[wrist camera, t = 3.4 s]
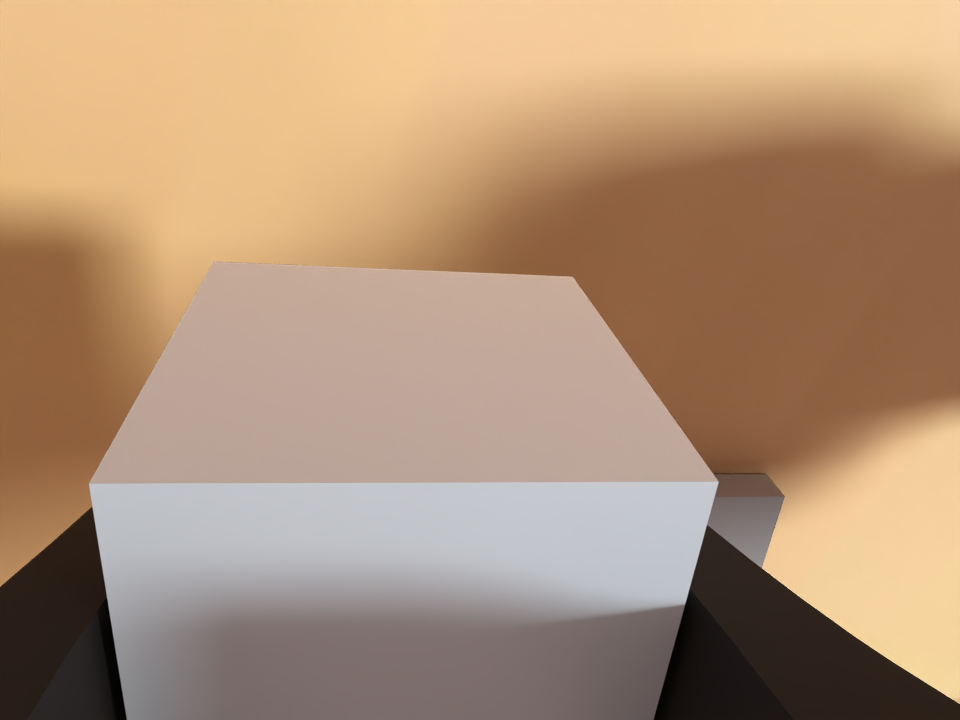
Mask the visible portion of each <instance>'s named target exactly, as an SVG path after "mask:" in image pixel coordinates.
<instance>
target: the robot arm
mask: <svg viewBox="0 0 960 720" xmlns="http://www.w3.org/2000/svg"><path fill="white" fill-rule="evenodd" d="M0 720H127V718H126V711H125V705H124V699H123V693H122V687H121V680H120V674H119V668H118V662H117V656H116V649H115V643H114V637H113V631H112V625H111V619H110V612H109V606H108V600H107V594H106V588H105V581H104V575H103V569H102V563H101V557H100V550H99V544H98V538H97V532H96V526H95V519H94V513H93V507H91V508H90V509H89V510H88V511H87V512H86V513H85V514H84V515H82V516H81V517H80V518H79V519H78V520H77V521H76V522H75V523H73V524H72V525H71V526H70V527H69V528H68V529H67V530H66V531H64V532H63V533H62V534H61V535H60V536H59V537H58V538H57V539H55V540H54V541H53V542H52V543H51V544H50V545H49V546H47V547H46V548H45V549H44V550H43V551H42V552H40V553H39V554H38V555H37V556H36V557H35V558H33V559H32V560H31V561H30V562H29V563H28V564H26V565H25V566H24V567H23V568H22V569H21V570H19V571H18V572H17V573H16V574H15V575H14V576H12V577H11V578H10V579H9V580H8V581H7V582H5V583H4V584H3V585H2V586H1V587H0ZM654 720H960V704H958V703H957V702H955V701H954V700H952V699H950V698H949V697H947V696H946V695H944V694H942V693H941V692H939V691H938V690H936V689H935V688H933V687H931V686H930V685H928V684H927V683H925V682H923V681H922V680H920V679H919V678H917V677H915V676H914V675H912V674H911V673H909V672H907V671H906V670H904V669H903V668H901V667H900V666H898V665H896V664H895V663H893V662H892V661H890V660H888V659H887V658H885V657H884V656H882V655H881V654H880V653H878V652H877V651H875V650H874V649H872V648H871V647H869V646H868V645H866V644H865V643H863V642H862V641H860V640H859V639H857V638H856V637H854V636H853V635H851V634H850V633H849V632H847V631H846V630H845V629H843V628H842V627H840V626H839V625H838V624H836V623H835V622H833V621H832V620H831V619H829V618H828V617H826V616H825V615H824V614H822V613H821V612H819V611H818V610H817V609H815V608H814V607H812V606H811V605H810V604H808V603H807V602H805V601H804V600H803V599H801V598H800V597H799V596H797V595H796V594H795V593H793V592H792V591H791V590H789V589H788V588H787V587H785V586H784V585H783V584H781V583H780V582H779V581H777V580H776V579H775V578H773V577H772V576H771V575H770V574H768V573H767V572H766V571H764V570H763V569H762V568H761V567H759V566H758V565H757V564H755V563H754V562H753V561H752V560H750V559H749V558H748V557H747V556H745V555H744V554H743V553H742V552H740V551H739V550H738V549H737V548H735V547H734V546H733V545H732V544H730V543H729V542H728V541H727V540H725V539H724V538H723V537H722V536H720V535H719V534H718V533H717V532H716V531H714V530H713V529H712V528H711V527H709V526H708V525H707V526H706V530H705V534H704V537H703V541H702V545H701V548H700V552H699V556H698V559H697V563H696V567H695V570H694V574H693V578H692V581H691V585H690V588H689V592H688V596H687V599H686V603H685V607H684V610H683V614H682V618H681V621H680V625H679V629H678V632H677V636H676V640H675V643H674V647H673V650H672V654H671V658H670V661H669V665H668V669H667V672H666V676H665V680H664V683H663V687H662V691H661V694H660V698H659V702H658V705H657V709H656V712H655V716H654Z"/></svg>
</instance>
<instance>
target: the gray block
mask: <svg viewBox="0 0 960 720" xmlns="http://www.w3.org/2000/svg"><path fill="white" fill-rule="evenodd" d="M714 476H715V477H716V479H717V480H718V481H719V483H718V486H717V490H716V494H715V497H714V501H713V505H712V508H711V512H710V516H709V519H708V523H707V525H708V526H709V527H711V528H712V529H713V530H714V531H716V532H717V533H718V534H719V535H720V536H722V537H723V538H724V539H725V540H727V541H728V542H729V543H730V544H732V545H733V546H734V547H735V548H737V549H738V550H739V551H740V552H742V553H743V554H744V555H745V556H747V557H748V558H749V559H750V560H752V561H753V562H754V563H755V564H757V565H758V566H759V567H761V568H762V565H763V562H764V559H765V556H766V553H767V550H768V547H769V544H770V540H771V537H772V534H773V531H774V528H775V525H776V522H777V519H778V516H779V513H780V509H781V506H782V503H783V500H784V497H785V496H784V495H783V494H782V493H781V491H780V490H779V489H778V488H777V486H776V485H775V484H774V483H773V482H772V480H771V479H770V478H769V477H768V476H767V474H714Z"/></svg>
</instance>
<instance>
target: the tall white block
mask: <svg viewBox="0 0 960 720" xmlns="http://www.w3.org/2000/svg"><path fill="white" fill-rule="evenodd" d="M718 483H719V481H718V480H717V479H716V477H715V476H714V474H713V473H712V472H711V470H710V469H709V467H708V466H707V465H706V463H705V462H704V460H703V459H702V458H701V456H700V455H699V453H698V452H697V451H696V449H695V448H694V446H693V445H692V444H691V442H690V441H689V439H688V438H687V436H686V435H685V434H684V432H683V431H682V429H681V428H680V427H679V425H678V424H677V422H676V421H675V420H674V418H673V417H672V415H671V414H670V413H669V411H668V410H667V408H666V407H665V406H664V404H663V403H662V401H661V400H660V399H659V397H658V396H657V394H656V393H655V392H654V390H653V389H652V387H651V386H650V385H649V383H648V382H647V380H646V379H645V377H644V376H643V375H642V373H641V372H640V370H639V369H638V368H637V366H636V365H635V363H634V362H633V361H632V359H631V358H630V356H629V355H628V354H627V352H626V351H625V349H624V348H623V347H622V345H621V344H620V342H619V341H618V340H617V338H616V337H615V335H614V334H613V333H612V331H611V330H610V328H609V327H608V326H607V324H606V323H605V321H604V320H603V318H602V317H601V316H600V314H599V313H598V311H597V310H596V309H595V307H594V306H593V304H592V303H591V302H590V300H589V299H588V297H587V296H586V295H585V293H584V292H583V290H582V289H581V288H580V286H579V285H578V283H577V282H576V281H575V279H574V278H573V277H571V276H547V275H524V274H500V273H476V272H452V271H429V270H405V269H381V268H357V267H333V266H310V265H286V264H262V263H238V262H215V261H214V262H213V264H212V265H211V267H210V269H209V271H208V272H207V274H206V276H205V278H204V280H203V281H202V283H201V285H200V287H199V288H198V290H197V292H196V294H195V296H194V297H193V299H192V301H191V303H190V304H189V306H188V308H187V310H186V312H185V313H184V315H183V317H182V319H181V320H180V322H179V324H178V326H177V328H176V329H175V331H174V333H173V335H172V336H171V338H170V340H169V342H168V344H167V345H166V347H165V349H164V351H163V352H162V354H161V356H160V358H159V360H158V361H157V363H156V365H155V367H154V368H153V370H152V372H151V374H150V376H149V377H148V379H147V381H146V383H145V384H144V386H143V388H142V390H141V392H140V393H139V395H138V397H137V399H136V400H135V402H134V404H133V406H132V408H131V409H130V411H129V413H128V415H127V416H126V418H125V420H124V422H123V424H122V425H121V427H120V429H119V431H118V432H117V434H116V436H115V438H114V440H113V441H112V443H111V445H110V447H109V448H108V450H107V452H106V454H105V456H104V457H103V459H102V461H101V463H100V464H99V466H98V468H97V470H96V472H95V473H94V475H93V477H92V479H91V481H90V482H89V489H90V495H91V501H92V507H93V513H94V519H95V526H96V532H97V538H98V544H99V550H100V557H101V563H102V569H103V575H104V581H105V588H106V594H107V600H108V606H109V612H110V619H111V625H112V631H113V637H114V643H115V649H116V656H117V662H118V668H119V674H120V680H121V687H122V693H123V699H124V705H125V711H126V718H127V720H654V716H655V712H656V709H657V705H658V702H659V698H660V694H661V691H662V687H663V683H664V680H665V676H666V672H667V669H668V665H669V661H670V658H671V654H672V650H673V647H674V643H675V640H676V636H677V632H678V629H679V625H680V621H681V618H682V614H683V610H684V607H685V603H686V599H687V596H688V592H689V588H690V585H691V581H692V578H693V574H694V570H695V567H696V563H697V559H698V556H699V552H700V548H701V545H702V541H703V537H704V534H705V530H706V526H707V523H708V519H709V516H710V512H711V508H712V505H713V501H714V497H715V494H716V490H717V486H718Z"/></svg>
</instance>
